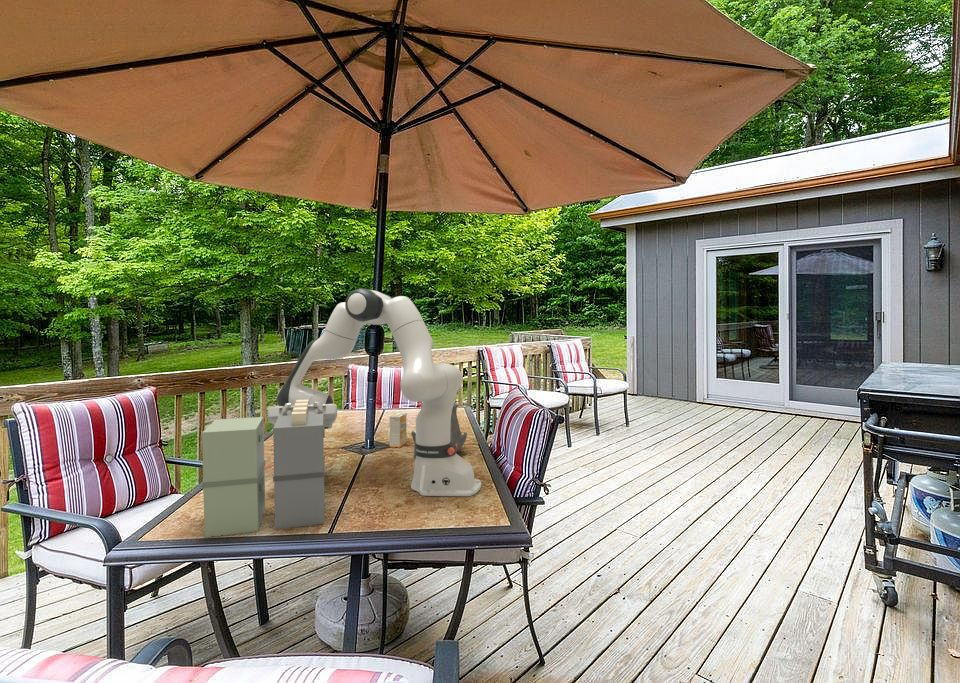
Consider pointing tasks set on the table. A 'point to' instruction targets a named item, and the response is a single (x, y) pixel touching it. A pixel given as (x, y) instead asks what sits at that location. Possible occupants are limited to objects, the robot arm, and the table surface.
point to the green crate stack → (233, 476)
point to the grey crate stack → (299, 472)
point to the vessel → (452, 430)
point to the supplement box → (398, 430)
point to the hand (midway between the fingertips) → (302, 405)
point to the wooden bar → (300, 412)
